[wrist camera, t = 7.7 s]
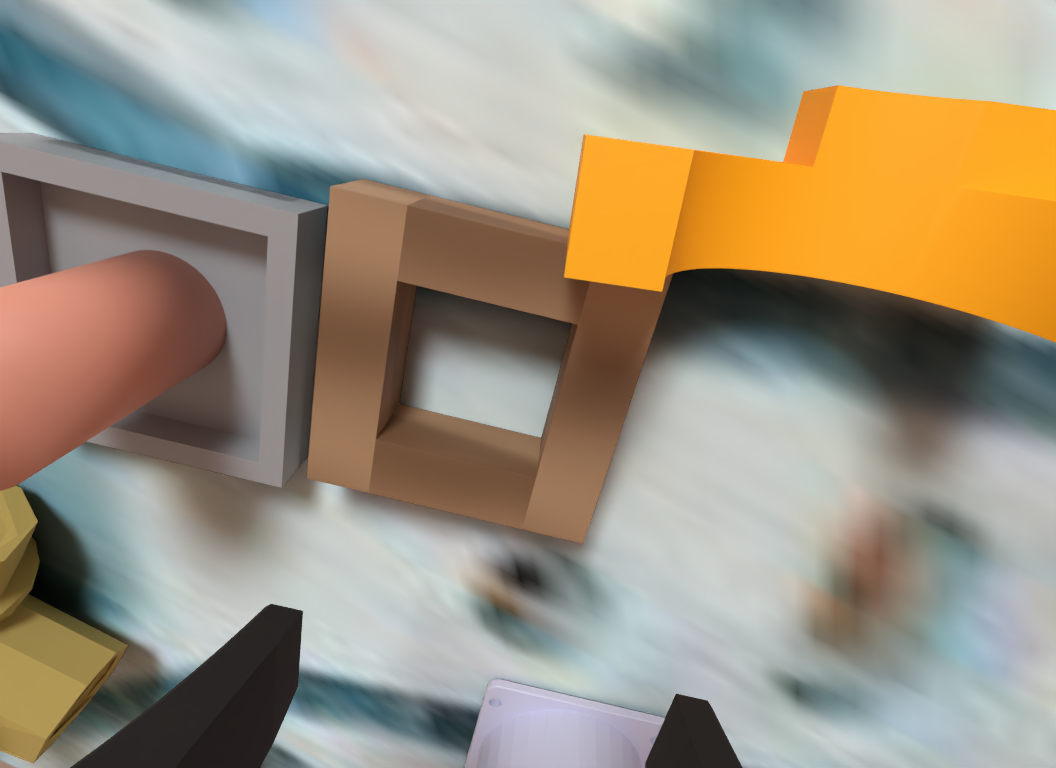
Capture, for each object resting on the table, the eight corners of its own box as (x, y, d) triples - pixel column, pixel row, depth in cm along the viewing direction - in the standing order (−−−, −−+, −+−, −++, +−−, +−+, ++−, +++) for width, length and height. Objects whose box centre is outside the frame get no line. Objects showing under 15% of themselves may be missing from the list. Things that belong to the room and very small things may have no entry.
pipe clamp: (1046, 125, 15) (1339, 121, 9) (974, 286, 17) (1183, 368, 11) (594, 63, 16) (603, 21, 10) (569, 227, 17) (564, 277, 11)
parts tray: (307, 456, 21) (281, 487, 19) (62, 398, 21) (13, 424, 19) (328, 205, 17) (298, 213, 16) (31, 133, 17) (-33, 133, 15)
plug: (225, 384, 19) (49, 510, 13) (105, 355, 19) (-131, 467, 13) (227, 268, 18) (28, 345, 11) (97, 234, 18) (-178, 294, 11)
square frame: (582, 498, 21) (582, 543, 19) (336, 440, 21) (306, 478, 18) (661, 252, 17) (674, 270, 15) (364, 179, 17) (330, 186, 15)
